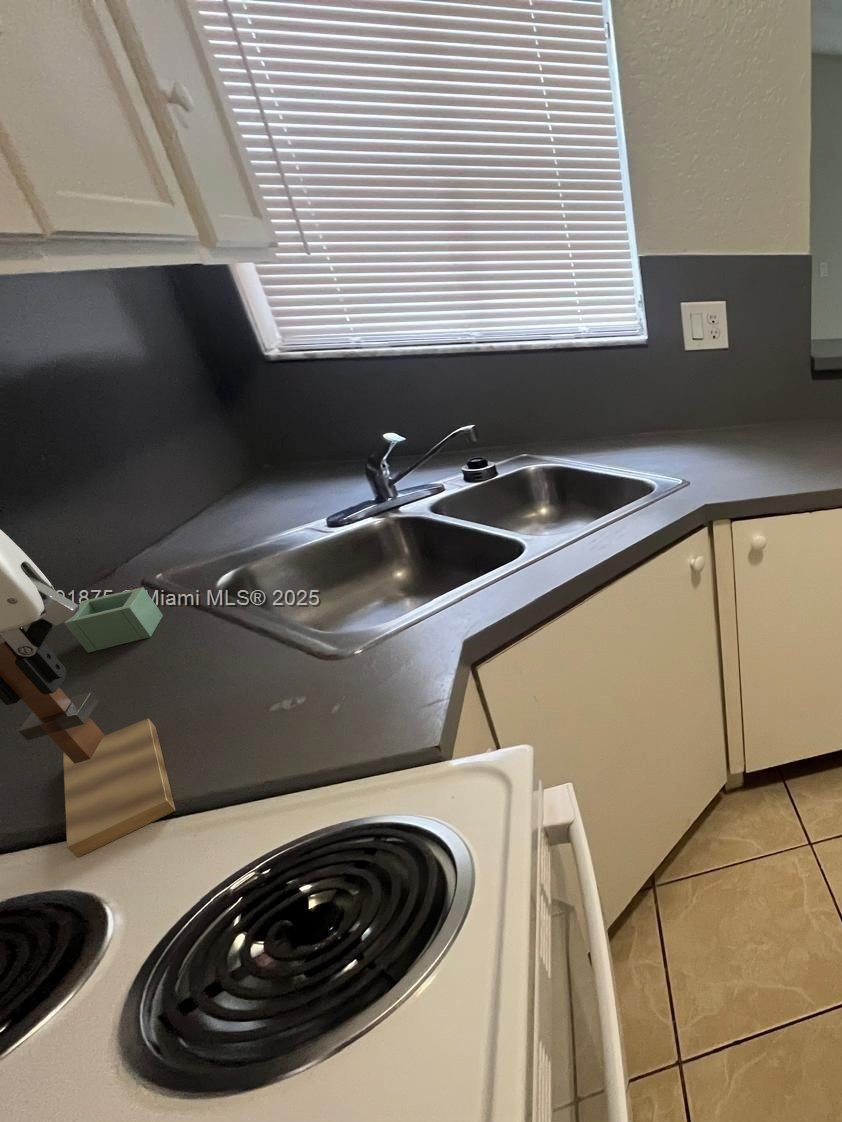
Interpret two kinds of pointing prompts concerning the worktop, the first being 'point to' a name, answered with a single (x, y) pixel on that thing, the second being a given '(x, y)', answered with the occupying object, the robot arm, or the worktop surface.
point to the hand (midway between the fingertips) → (37, 689)
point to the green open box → (114, 619)
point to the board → (116, 788)
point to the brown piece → (53, 711)
